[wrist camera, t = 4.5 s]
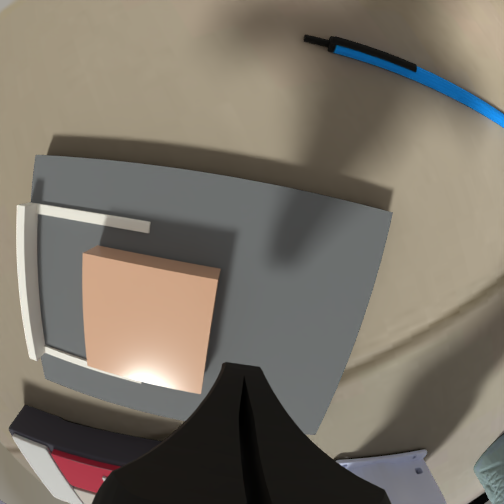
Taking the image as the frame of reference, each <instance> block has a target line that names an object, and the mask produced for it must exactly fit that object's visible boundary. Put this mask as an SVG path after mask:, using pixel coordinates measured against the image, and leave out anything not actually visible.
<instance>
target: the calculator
mask: <svg viewBox="0 0 504 504" xmlns="http://www.w3.org/2000/svg"><path fill="white" fill-rule="evenodd" d="M9 431H10V433H11V435H12V437H13V439H14V441H15V443H16V444H17V446H18V447H19V449H20V451H21V452H22V454H23V455H24V457H25V458H26V460H27V461H28V463H29V464H30V466H31V467H32V468H33V470H34V471H35V473H36V474H37V475H38V477H39V478H40V479H41V481H42V482H43V483H44V485H45V486H46V487H47V488H48V490H49V491H50V492H51V493H52V495H53V496H54V497H55V498H57V499H60V500H62V501H65V502H68V503H71V504H92V502H93V499H94V497H95V495H96V493H97V491H98V490H99V488H100V486H101V485H102V483H103V482H104V481H105V479H106V478H107V477H108V476H109V474H110V473H111V472H112V471H114V470H116V469H118V468H120V467H122V466H124V465H126V464H127V463H129V462H131V461H133V460H135V459H137V458H139V457H140V456H142V455H144V454H145V453H147V452H148V451H149V450H151V449H152V448H154V447H155V446H157V445H158V444H160V443H161V442H162V441H156V440H150V439H145V438H139V437H134V436H129V435H124V434H119V433H114V432H110V431H105V430H100V429H96V428H91V427H87V426H83V425H79V424H75V423H71V422H68V421H64V420H63V419H62V418H60V417H58V416H55V415H52V414H49V413H46V412H44V411H41V410H38V409H35V408H33V407H30V406H28V405H25V406H24V407H23V408H22V410H21V411H20V412H19V414H18V415H17V417H16V418H15V420H14V421H13V422H12V424H11V425H10V427H9Z"/></svg>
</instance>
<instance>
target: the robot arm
mask: <svg viewBox="0 0 504 504" xmlns="http://www.w3.org/2000/svg"><path fill="white" fill-rule="evenodd" d="M426 454H427V451H426V450H425V449H423V450H418V451H413V452H407V453H401V454H394V455H386V456H378V457H369V458H358V459H344V460H336V461H334V460H333V459H332V458H331V457H329V456H328V455H327V454H326V453H324V452H323V451H322V450H321V449H320V448H318V447H317V446H316V445H315V444H314V443H313V442H312V441H311V440H310V439H309V438H308V437H307V436H306V435H305V434H304V433H303V432H302V430H301V429H300V428H299V427H298V426H297V425H296V423H295V422H294V421H293V420H292V418H291V417H290V416H289V414H288V413H287V412H286V410H285V409H284V407H283V406H282V404H281V403H280V401H279V400H278V398H277V396H276V395H275V393H274V392H273V390H272V388H271V386H270V384H269V383H268V381H267V379H266V377H265V375H264V373H263V371H262V369H261V368H260V367H259V366H251V365H244V364H237V363H231V362H224V363H223V364H222V367H221V370H220V373H219V375H218V377H217V379H216V381H215V383H214V385H213V386H212V388H211V389H210V391H209V393H208V394H207V396H206V397H205V398H204V400H203V401H202V402H201V403H200V405H199V406H198V407H197V409H196V410H195V411H194V412H193V413H192V414H191V416H190V417H189V418H188V419H187V420H186V421H185V422H184V423H183V424H182V425H181V426H180V427H179V428H178V429H177V430H175V431H174V432H173V433H172V434H171V435H170V436H169V437H167V438H166V439H165V440H164V441H162V442H161V443H160V444H158V445H157V446H155V447H154V448H152V449H151V450H149V451H148V452H147V453H145V454H144V455H142V456H140V457H139V458H137V459H135V460H133V461H131V462H129V463H127V464H126V465H124V466H122V467H120V468H118V469H116V470H114V471H112V472H111V473H110V474H109V476H108V477H107V478H106V479H105V481H104V482H103V483H102V485H101V486H100V488H99V490H98V491H97V493H96V495H95V497H94V499H93V502H92V504H446V501H445V498H444V496H443V494H442V493H441V491H440V489H439V487H438V485H437V483H436V481H435V479H434V477H433V476H432V474H431V472H430V470H429V468H428V466H427V465H426V463H425V461H424V459H423V458H424V457H425V456H426ZM0 504H6V503H4V502H3V501H1V500H0ZM502 504H504V503H502Z"/></svg>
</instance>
